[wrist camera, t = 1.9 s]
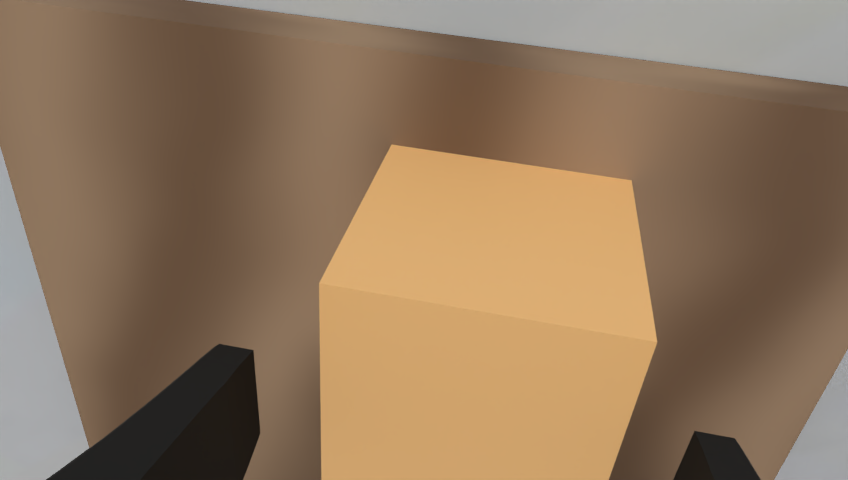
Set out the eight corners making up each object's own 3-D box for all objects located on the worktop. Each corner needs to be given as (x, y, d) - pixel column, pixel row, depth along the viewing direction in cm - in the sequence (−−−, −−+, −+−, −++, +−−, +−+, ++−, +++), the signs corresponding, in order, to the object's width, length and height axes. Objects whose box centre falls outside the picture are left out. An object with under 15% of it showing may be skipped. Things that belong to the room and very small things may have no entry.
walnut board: (934, 98, 13) (971, 128, 12) (628, 690, 27) (630, 732, 26) (3, -23, 16) (-46, -9, 14) (157, 582, 29) (139, 617, 28)
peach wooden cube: (631, 180, 14) (657, 342, 10) (581, 360, 17) (585, 546, 12) (391, 144, 14) (318, 283, 10) (381, 325, 17) (321, 491, 13)
